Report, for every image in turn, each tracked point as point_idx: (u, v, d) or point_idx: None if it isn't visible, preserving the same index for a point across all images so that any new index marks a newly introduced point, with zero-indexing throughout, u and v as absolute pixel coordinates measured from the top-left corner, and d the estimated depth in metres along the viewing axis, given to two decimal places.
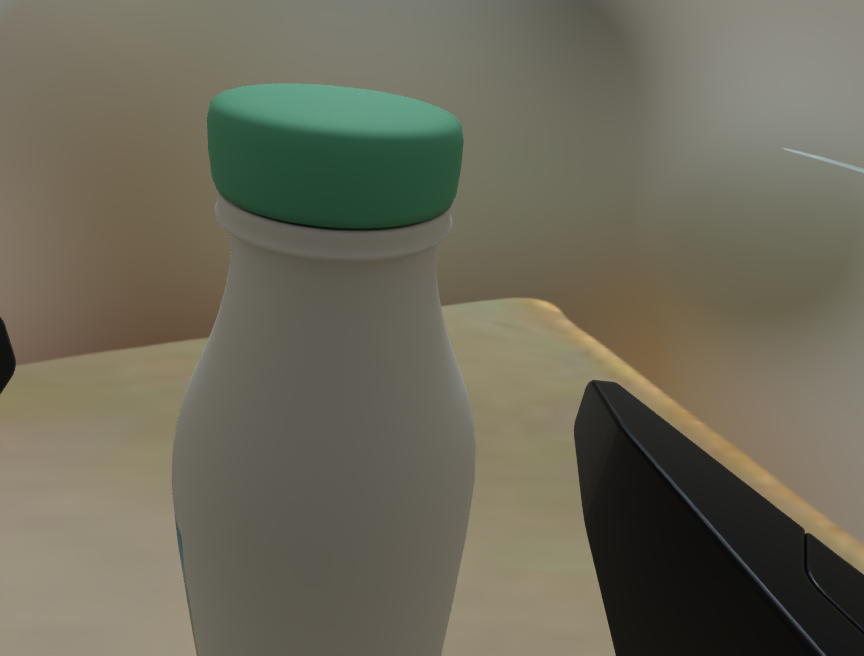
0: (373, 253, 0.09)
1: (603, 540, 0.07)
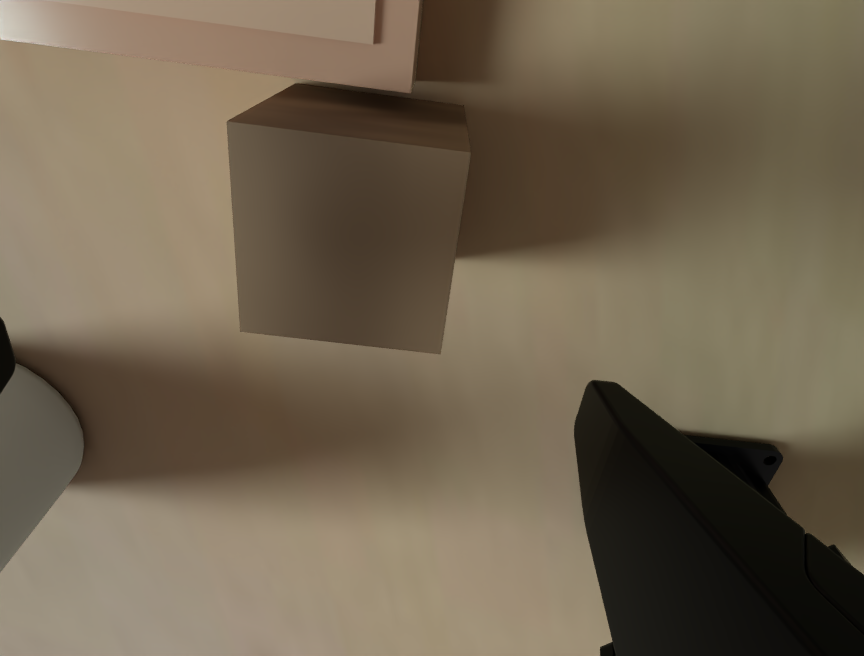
0: None
1: (603, 540, 0.07)
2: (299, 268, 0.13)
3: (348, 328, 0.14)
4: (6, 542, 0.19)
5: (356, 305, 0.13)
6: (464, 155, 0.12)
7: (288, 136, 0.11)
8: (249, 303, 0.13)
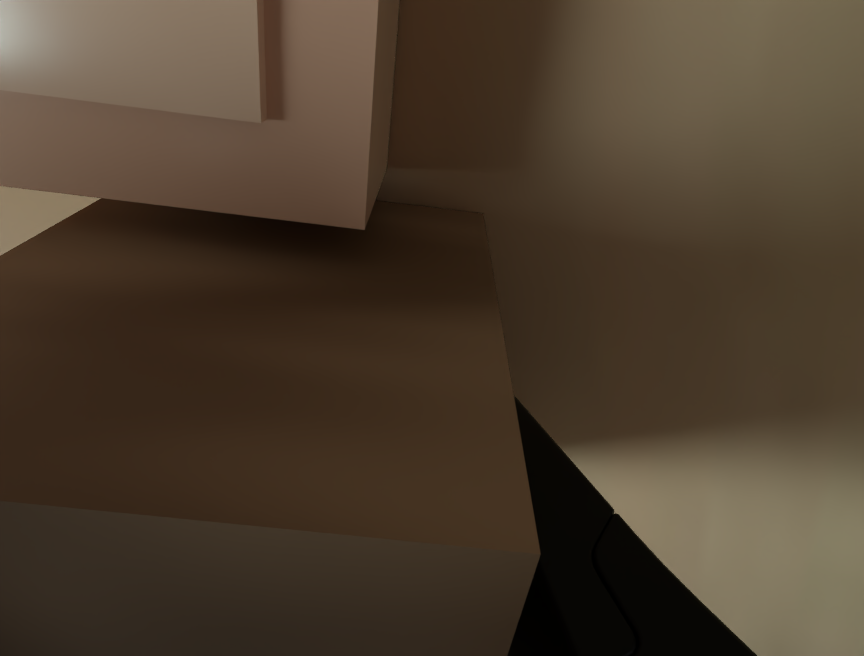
0: None
1: None
2: None
3: None
4: None
5: None
6: (516, 564, 0.03)
7: None
8: None
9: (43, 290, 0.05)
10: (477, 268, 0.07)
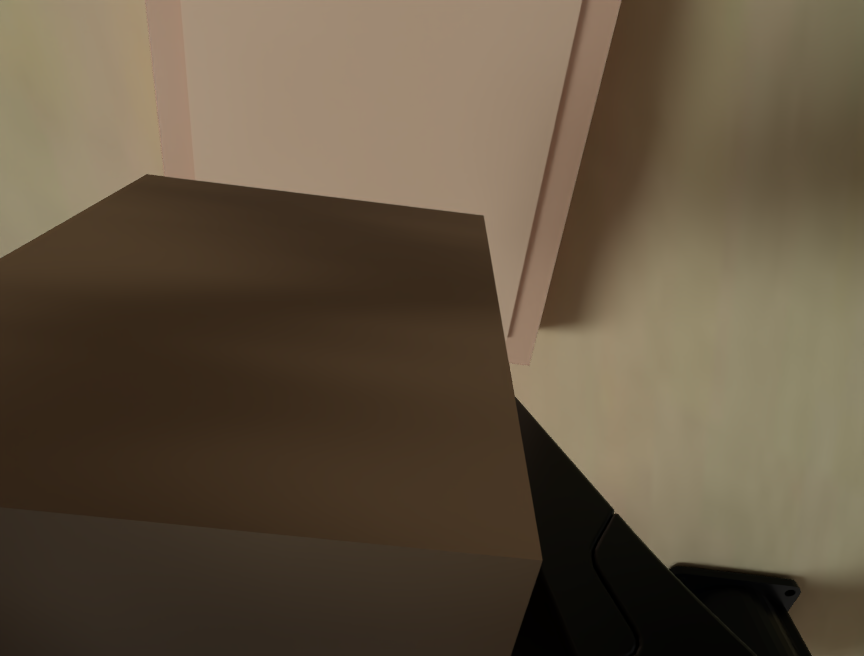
0: None
1: None
2: None
3: None
4: None
5: None
6: (518, 571, 0.03)
7: None
8: None
9: (43, 293, 0.05)
10: (478, 270, 0.07)
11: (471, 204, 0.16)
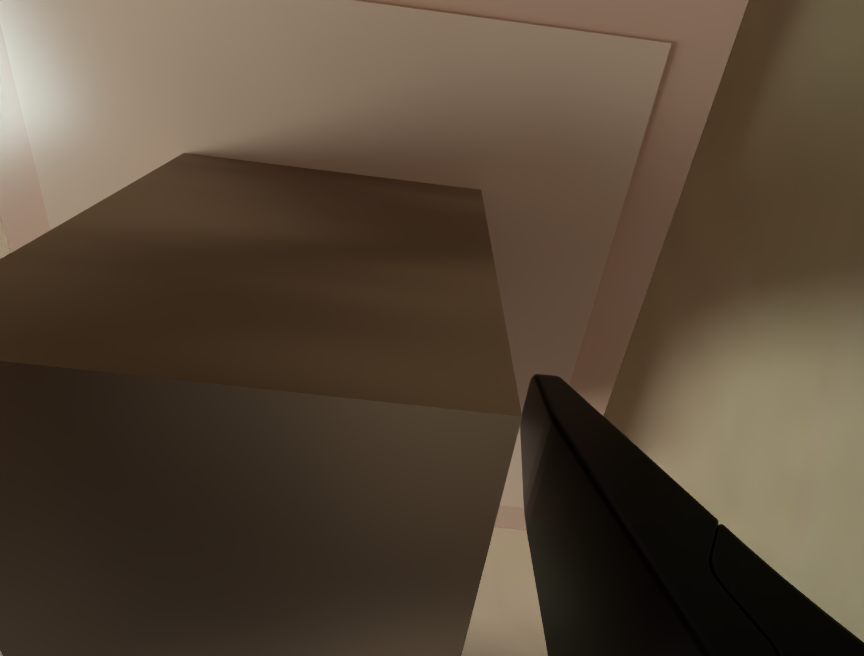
0: None
1: (538, 533, 0.07)
2: (120, 613, 0.06)
3: None
4: None
5: None
6: (504, 424, 0.04)
7: (30, 376, 0.04)
8: None
9: (117, 240, 0.06)
10: (475, 231, 0.08)
11: None
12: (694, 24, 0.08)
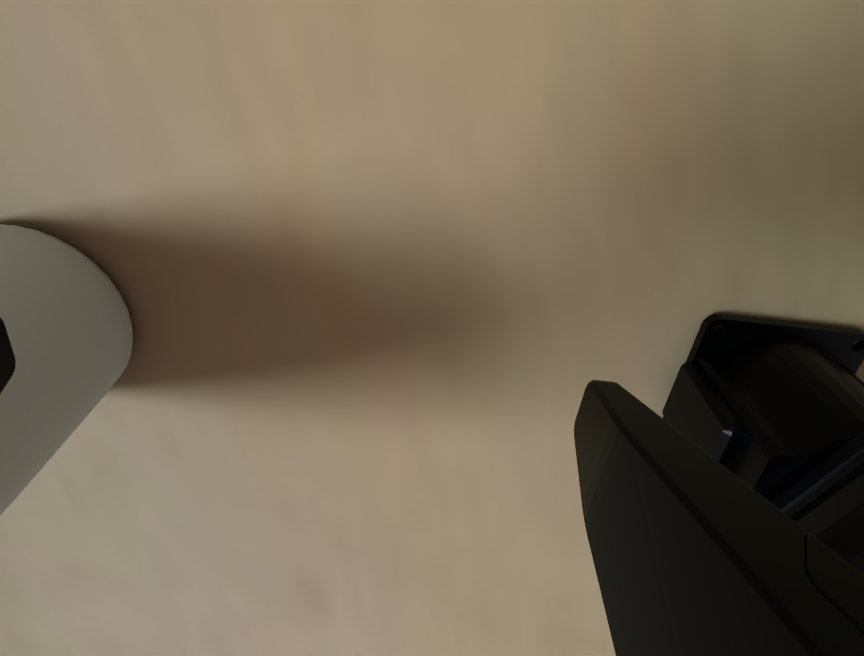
0: None
1: (603, 540, 0.07)
2: None
3: None
4: (62, 416, 0.18)
5: None
6: None
7: None
8: None
9: None
10: None
11: None
12: None
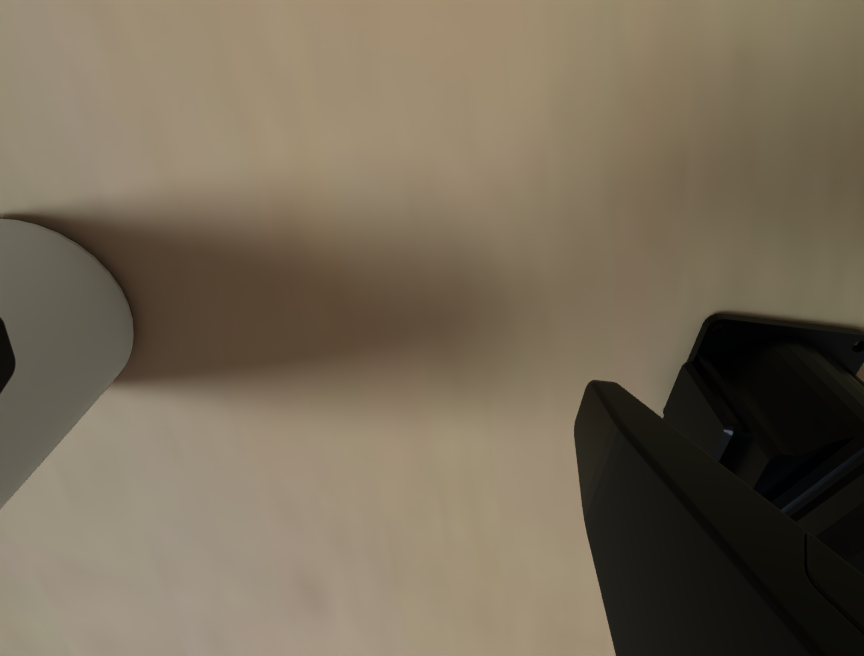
0: None
1: (603, 540, 0.07)
2: None
3: None
4: (62, 411, 0.18)
5: None
6: None
7: None
8: None
9: None
10: None
11: None
12: None
